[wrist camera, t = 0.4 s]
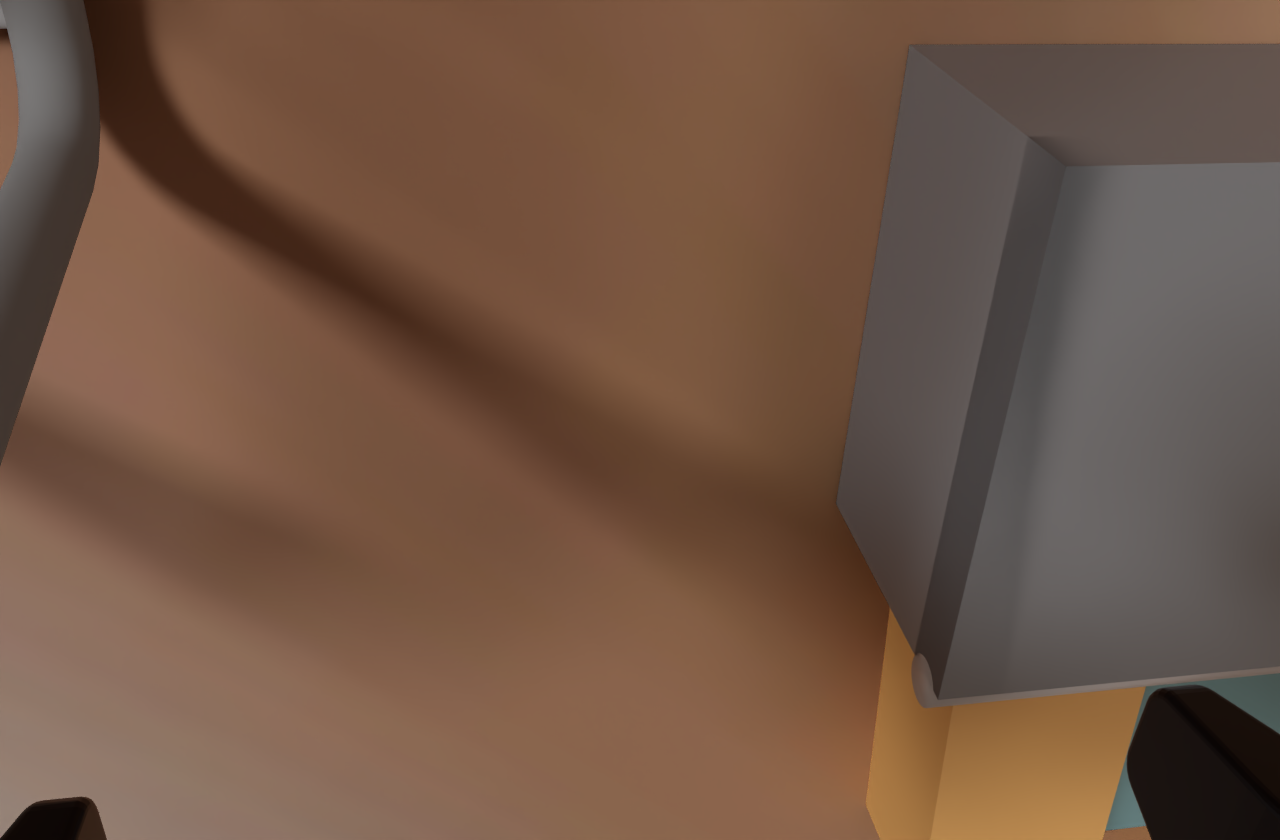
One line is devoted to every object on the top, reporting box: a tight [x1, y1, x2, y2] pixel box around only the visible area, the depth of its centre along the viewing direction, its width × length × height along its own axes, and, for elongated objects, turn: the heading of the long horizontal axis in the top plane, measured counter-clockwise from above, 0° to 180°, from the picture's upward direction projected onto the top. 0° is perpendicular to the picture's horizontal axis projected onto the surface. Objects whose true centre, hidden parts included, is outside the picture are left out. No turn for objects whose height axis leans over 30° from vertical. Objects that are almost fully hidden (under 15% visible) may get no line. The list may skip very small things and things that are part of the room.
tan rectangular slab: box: [866, 609, 1146, 840], centre depth 28 cm, size 13×4×4 cm, turn 1°
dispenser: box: [836, 44, 1280, 708], centre depth 23 cm, size 11×8×6 cm
